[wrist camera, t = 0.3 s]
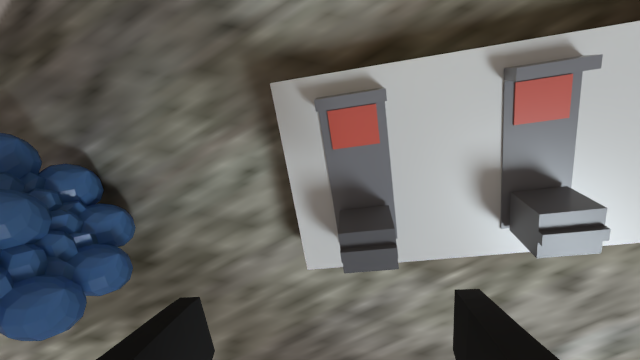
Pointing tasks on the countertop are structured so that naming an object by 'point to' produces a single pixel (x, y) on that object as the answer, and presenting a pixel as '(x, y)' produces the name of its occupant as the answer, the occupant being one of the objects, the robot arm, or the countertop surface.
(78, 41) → the countertop surface
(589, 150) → the switch panel
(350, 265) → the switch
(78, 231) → the grapes
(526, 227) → the switch middle
